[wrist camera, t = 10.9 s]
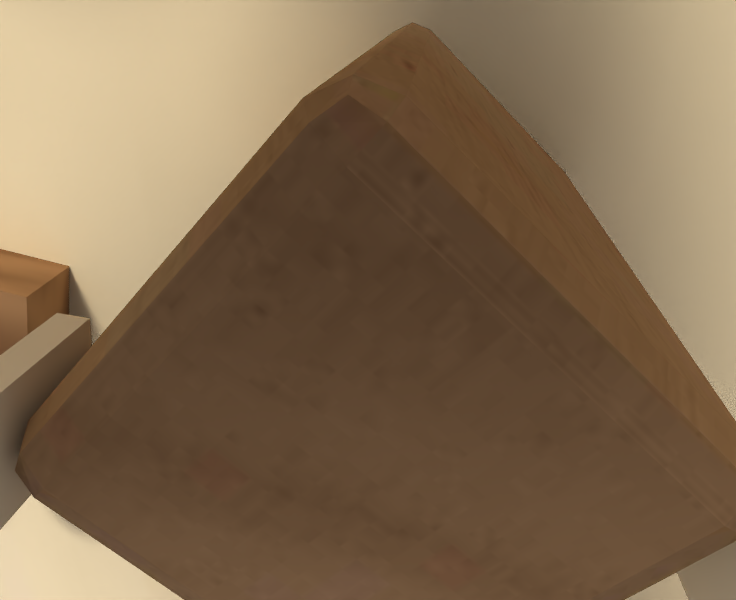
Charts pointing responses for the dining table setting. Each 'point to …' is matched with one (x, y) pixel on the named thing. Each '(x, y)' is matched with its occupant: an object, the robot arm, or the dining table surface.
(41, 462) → the block
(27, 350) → the robot arm
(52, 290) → the wooden book-shaped slab
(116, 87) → the dining table surface
